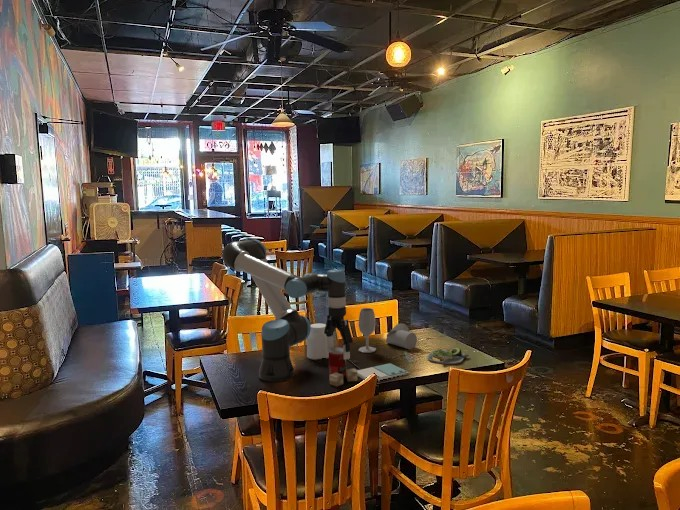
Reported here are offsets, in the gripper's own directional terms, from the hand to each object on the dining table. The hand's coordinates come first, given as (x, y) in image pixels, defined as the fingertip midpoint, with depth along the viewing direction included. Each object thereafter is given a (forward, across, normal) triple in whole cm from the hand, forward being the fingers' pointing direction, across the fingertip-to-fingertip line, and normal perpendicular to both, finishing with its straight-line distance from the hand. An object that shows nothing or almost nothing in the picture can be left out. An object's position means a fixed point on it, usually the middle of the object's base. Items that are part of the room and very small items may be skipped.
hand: (338, 354), depth 218 cm
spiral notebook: (+9, -8, -16) cm, 20 cm away
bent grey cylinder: (+9, +22, -51) cm, 56 cm away
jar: (+9, +28, -5) cm, 29 cm away
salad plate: (+10, -8, -54) cm, 55 cm away
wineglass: (+9, +22, -29) cm, 37 cm away
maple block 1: (+9, -8, +6) cm, 14 cm away
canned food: (+9, 0, 0) cm, 9 cm away
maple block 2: (+9, -8, -2) cm, 12 cm away
